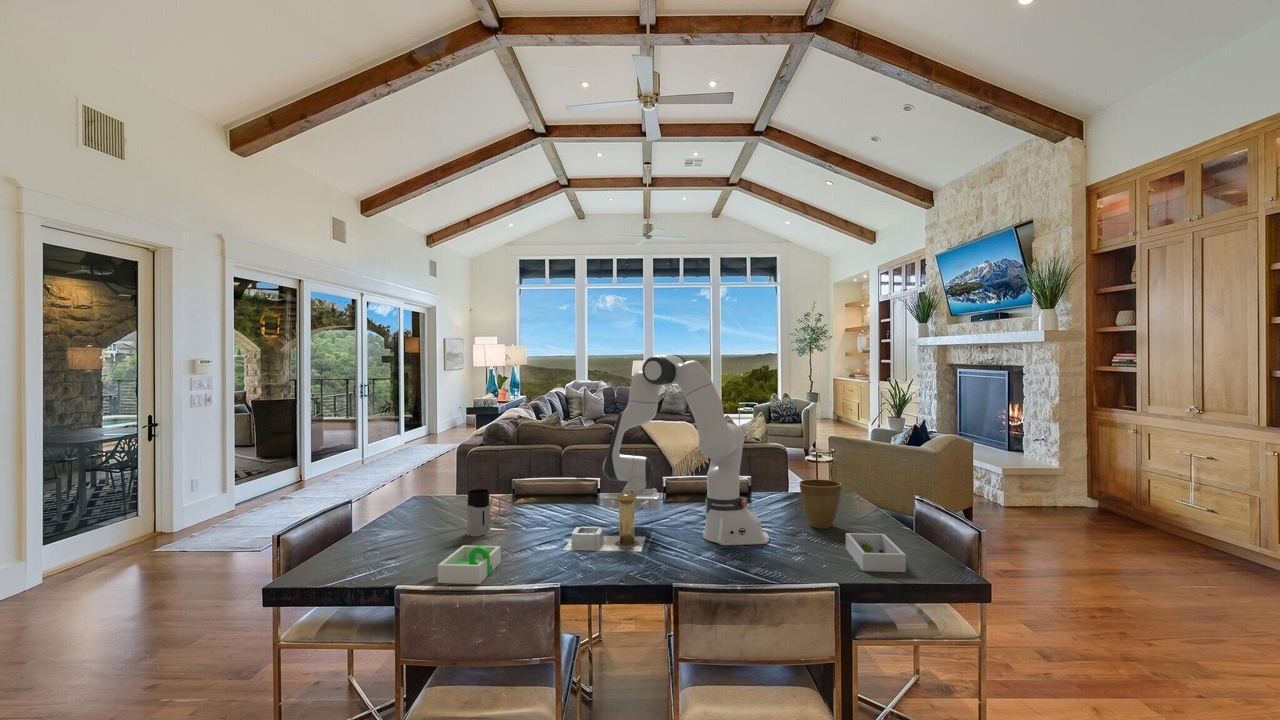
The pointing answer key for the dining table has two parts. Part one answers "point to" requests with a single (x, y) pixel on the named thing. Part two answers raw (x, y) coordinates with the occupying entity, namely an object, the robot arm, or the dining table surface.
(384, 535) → the dining table surface
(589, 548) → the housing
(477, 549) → the mechanical part
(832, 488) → the plant pot
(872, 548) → the decorative flower
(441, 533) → the dining table surface
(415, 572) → the dining table surface
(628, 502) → the brass flanged pin
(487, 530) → the glass holder
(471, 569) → the parts tray
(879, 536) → the flower tray
